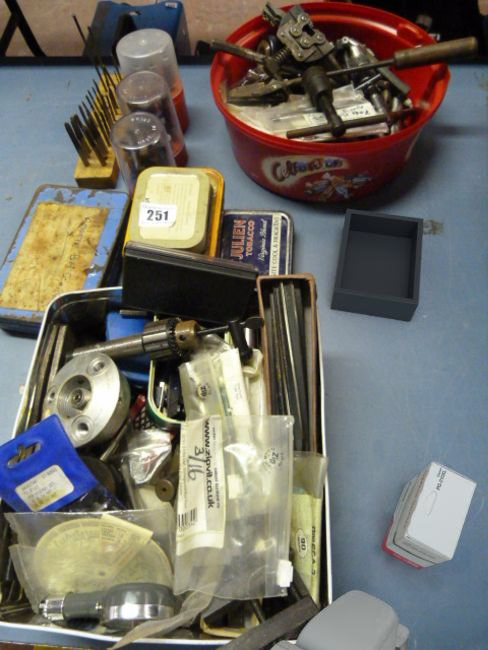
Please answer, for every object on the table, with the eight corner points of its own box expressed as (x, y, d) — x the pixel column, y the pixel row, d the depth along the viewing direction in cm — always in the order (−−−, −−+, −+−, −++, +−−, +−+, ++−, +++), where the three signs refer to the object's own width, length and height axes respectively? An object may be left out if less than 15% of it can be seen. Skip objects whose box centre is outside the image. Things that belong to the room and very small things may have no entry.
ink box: (420, 571, 58) (453, 563, 48) (379, 549, 59) (402, 536, 49) (443, 502, 61) (479, 481, 51) (404, 482, 63) (431, 458, 52)
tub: (410, 321, 74) (418, 304, 70) (330, 309, 75) (334, 291, 71) (415, 238, 81) (423, 218, 77) (342, 228, 83) (346, 208, 78)
